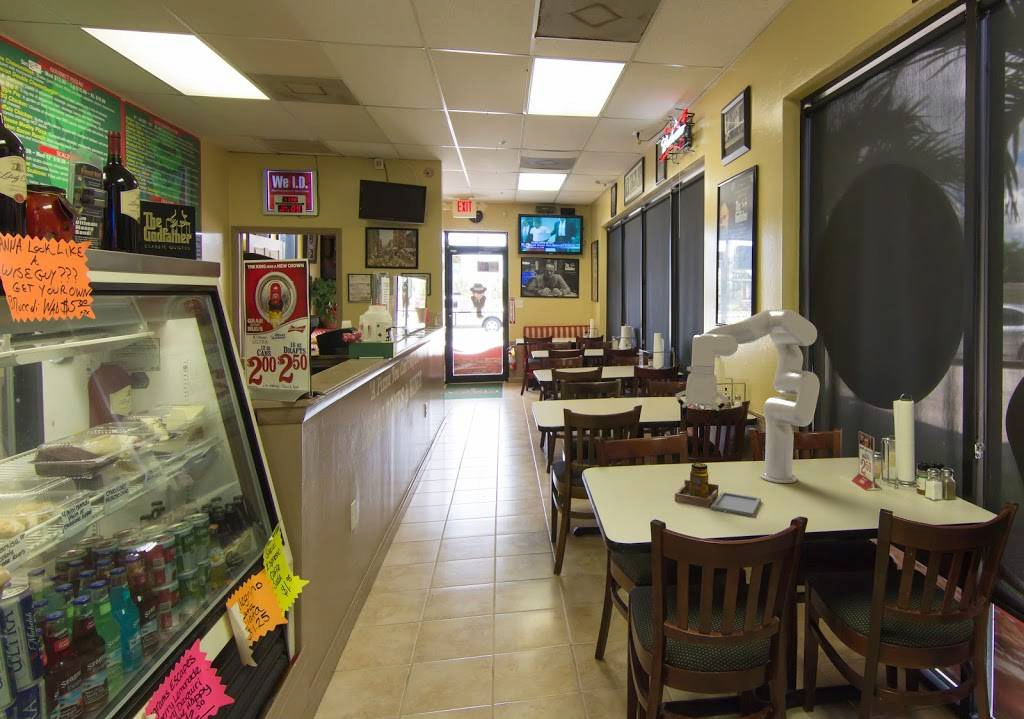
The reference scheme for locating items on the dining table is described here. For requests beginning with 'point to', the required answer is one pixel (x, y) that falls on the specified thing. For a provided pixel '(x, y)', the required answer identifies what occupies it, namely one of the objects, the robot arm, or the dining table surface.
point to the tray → (736, 503)
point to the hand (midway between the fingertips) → (700, 420)
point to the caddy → (697, 500)
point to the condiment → (699, 480)
